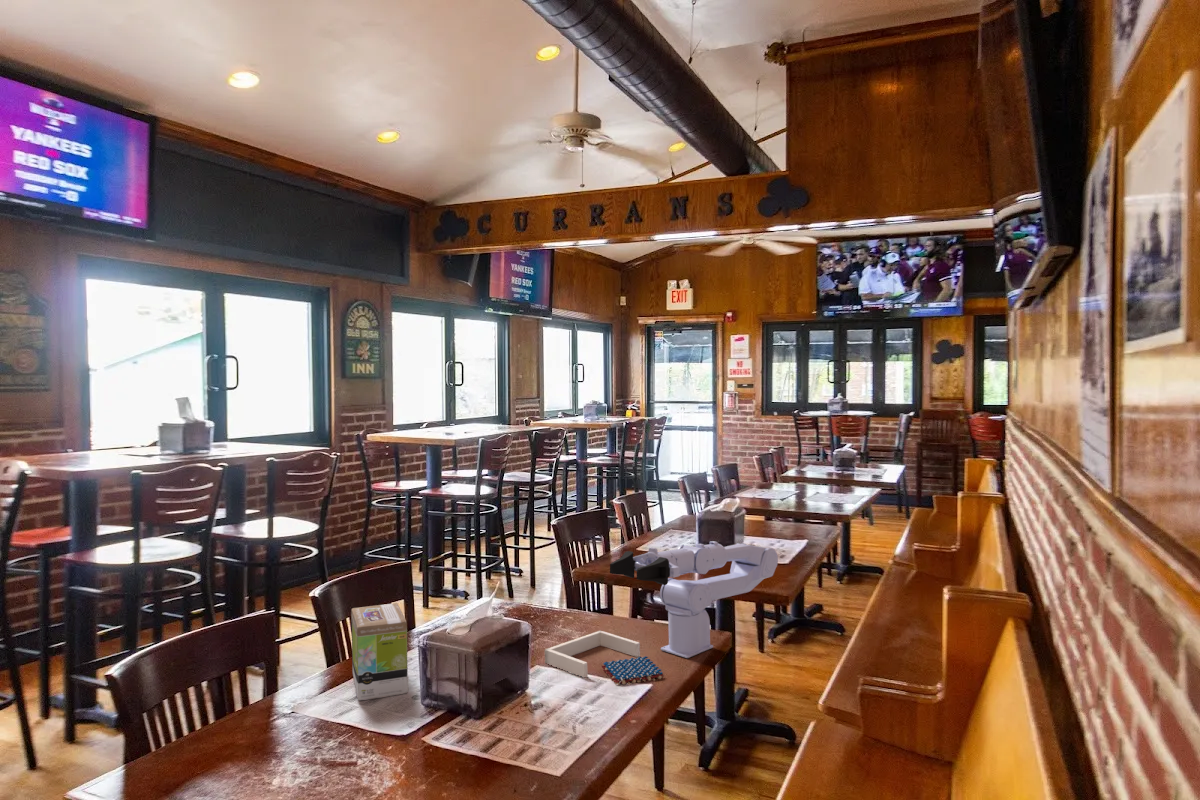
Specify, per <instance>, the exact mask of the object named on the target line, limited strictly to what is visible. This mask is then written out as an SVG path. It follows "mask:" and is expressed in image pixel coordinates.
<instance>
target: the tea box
mask: <svg viewBox="0 0 1200 800" xmlns="http://www.w3.org/2000/svg"><path fill="white" fill-rule="evenodd" d="M350 617H351V618H350V619H351V657H352V658H351V659H352V660H351V661H352V663H351V664H352V676H353V677H352V678H353V680H354V687H355V692H356V696H357V700H358V701H367V700H373V699H379V698H386V697H391V696H399V695H402V694H408V691H409V689H408V688H409V684H408V682H409V681H408V680H409V679H408V676H409V675H408V674H409V673H408V667H409V666H408V626H407V625H408V623H407V620H406V618H405V615H404V613H403V612H402V609H401V607H400V606H399V604H398V603H397V602H394V603H387V604H378V605H377V604H376V605H369V606H368V605H367V606H362V607H353V608H351V616H350Z"/></svg>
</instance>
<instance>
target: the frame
mask: <svg viewBox="0 0 1200 800" xmlns="http://www.w3.org/2000/svg"><path fill="white" fill-rule="evenodd" d="M600 646H601V647H605V648H608V649H612V650H613V651H616V652H620V653H623V654H626V655H629V656H631V657H634V658H638V657H641V644H640V642H638V641H635V640H632V639H630V638H626V637H622V636H619V635H617V634H613V633H610V632H606V631H604V630H603V631H602V630H597V631H594V632H592V633H589V634H587V635H583V636H581V637H577V638H575V639H571V640H568V641H566V642H563V643H560V644H556V645H554V646H551V647H548V648H545V649H544V664H546V663H547V664H546V665H548V664H549V666H551V665H552V666H551V667H555V668H556V667H557V669H559V668H560V669H559V670H561V669H563V670H562V671H564V670H566V671H565V672H567V671H568V672H567V673H569V672H571V673H570V674H572V673H574V674H576V675H575V676H577V675H579V676H578V677H580V676H582V677H586V678H588V677H589V676H588V675H589V674H588V662H587V661H584V660H582V659H578V658H575V657H573V656H575V655H578V654H581V653H583V652H586V651H588V650H591V649H594V648H598V647H600ZM574 674H573V675H574ZM587 676H588V677H587ZM582 677H581V678H582Z"/></svg>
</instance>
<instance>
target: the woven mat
mask: <svg viewBox="0 0 1200 800" xmlns="http://www.w3.org/2000/svg"><path fill="white" fill-rule="evenodd" d="M601 668H602V670H603V672H604V673H606V675H608V676H609V678H610V680H611V681H613V682H614V684H615V685H616V684H618V685H621V684H622V685H623V684H624V685H626V684H627V683H628V684H627V685H631V683H632V684H636V683H641V681H642V682H643V681H644V682H646V681H648V682H650V681H652V680H653V681H656V679H658V680H661V679H662V677H664V673H663V671H662V669H661V668H660V669H659V666H656V663H654V661H651V658H648V656H642V657H641V656H639V657H631V658H629V659H627V658H625V659H622V660H621V659H618V660H612V661H611V660H610V661H604V662H603V665H601ZM655 678H656V679H655ZM641 679H642V680H641ZM631 681H632V682H631Z"/></svg>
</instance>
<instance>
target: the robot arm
mask: <svg viewBox="0 0 1200 800" xmlns="http://www.w3.org/2000/svg"><path fill="white" fill-rule="evenodd" d="M727 562H731V565H730V570H729V573H726V574H720V575H716V576H711V577H706V578H701V579H696V580H688V579H687V580H686V579H676V578H679V577H680V576H683V575H687V574H691V573H694V574H699V575H706V574H707V573H708V572H709V571H710V570H713V569H714V570H715V569H716V570H717V569H720V568H723V567H724V566H725V565H726V564H727ZM778 564H779V556H778V553H777V551H776V549H774V548H773V547H763V546H758V545H752V544H751V545H750V544H746V543H744V542H742V543H739V542H737V543H735V544H730V545H727V546H726V545H725V546H723V545H722V544H721V543H719V542H718V541H713V540H712V541H709V544H704V543H697V545H696V546H690V545H684V544H681V545H680V546H678V548H675V549H670V550H669V549H668V550H663V551H658V548H656V547H649V548H648V551H647V552H646V553H642V554H639V555H635V556H634V551H629V550H628V551H625V552H624V553H623V555H622V556H621V557H620V558H618V559H616V560H615V561H612V562H610V564H609V573H610V574H612V575H618V576H619V575H623V576H624V577H628V578H630V579H631V578H632V579H634V578H635V571H636V580H639V581H643V582H644V581H645V582H654V583H656V584H659V585H661V587H660V591H659V596H660V597H659V598H660V601H661V603H662V604H663V605H664V606H665V610H666V611H667V617H668V618H667V619H668V620H667V621H668V624H667V625H668V644H667V645H664V646H662V647H660V651H663V652H666V653H670V654H672V655H676V656H679V657H682V658H686V659H689V658H691V657H694V656H696V655H698V654H701V653H704V652H705V651H706V652H707V651H708V650H710V649H712V648H714V645H713V644H711V627H710V626H711V625H710V624H711V621H710V616H709V613H708V612H707V610H706V608H707V607H710V606H711V605H712V601H717V600H721V599H725V598H728V597H729V598H730V597H732V596H737V595H742V594H746V593H749V592H752V591H753V589H755V588H756V587H757V586H758V585H759V584H760V583H761V582H762V581H764V579H767V578H772V577H773V576H774V575H775V571H776V568H777V567H778Z"/></svg>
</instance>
